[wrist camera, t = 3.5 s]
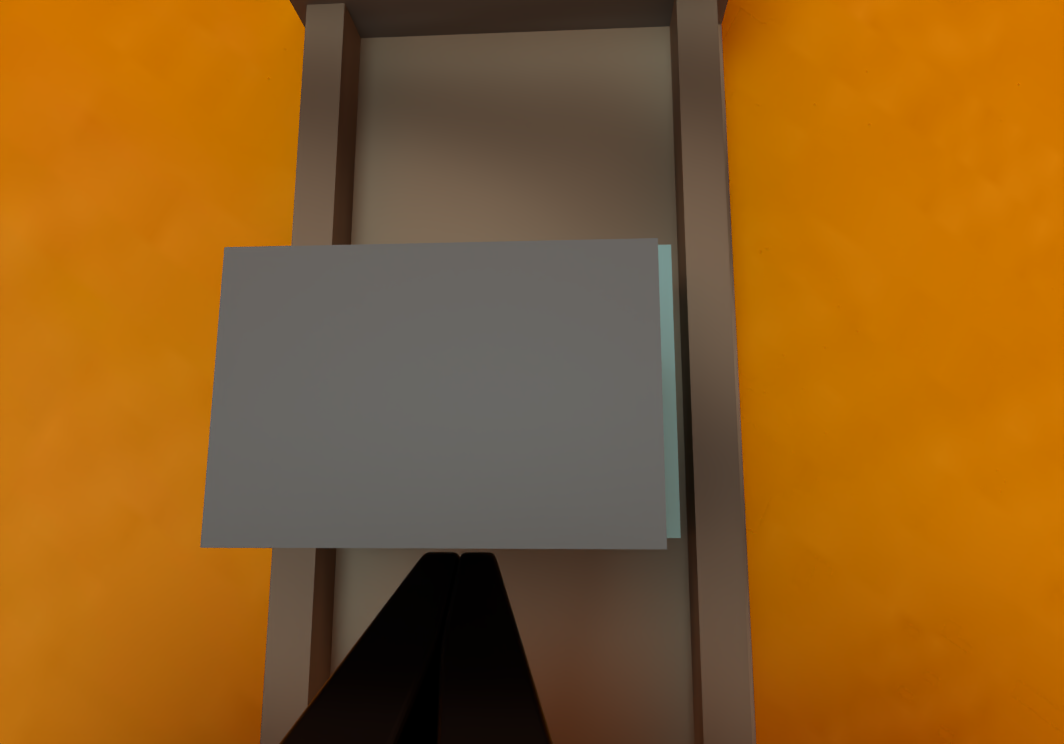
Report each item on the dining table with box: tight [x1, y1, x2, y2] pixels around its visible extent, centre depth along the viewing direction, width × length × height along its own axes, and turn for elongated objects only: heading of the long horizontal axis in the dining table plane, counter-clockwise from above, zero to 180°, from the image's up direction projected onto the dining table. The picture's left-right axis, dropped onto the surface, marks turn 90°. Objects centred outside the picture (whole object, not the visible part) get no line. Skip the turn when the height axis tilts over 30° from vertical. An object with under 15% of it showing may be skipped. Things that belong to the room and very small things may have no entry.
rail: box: [260, 0, 756, 744], centre depth 14 cm, size 26×9×6 cm, turn 0°
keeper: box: [201, 238, 681, 549], centre depth 12 cm, size 5×6×8 cm
